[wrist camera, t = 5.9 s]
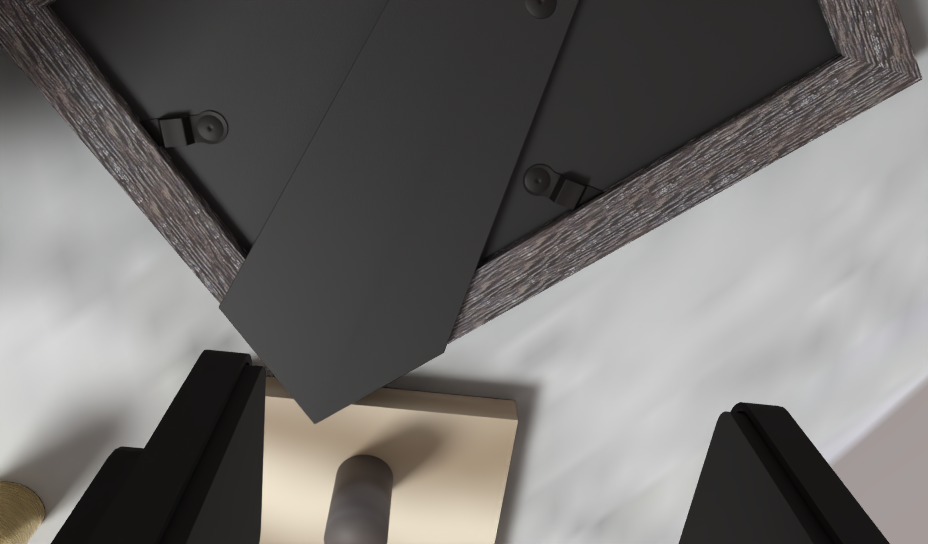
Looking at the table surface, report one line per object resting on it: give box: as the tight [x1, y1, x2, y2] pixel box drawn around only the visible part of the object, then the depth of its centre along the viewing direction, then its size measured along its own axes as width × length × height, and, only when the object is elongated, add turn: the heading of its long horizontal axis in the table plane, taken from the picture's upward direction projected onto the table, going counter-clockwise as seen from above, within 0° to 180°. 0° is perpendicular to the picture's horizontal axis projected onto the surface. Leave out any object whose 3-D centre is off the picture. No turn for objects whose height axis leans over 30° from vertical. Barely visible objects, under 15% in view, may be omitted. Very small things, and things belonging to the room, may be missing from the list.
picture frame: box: [0, 0, 922, 424], centre depth 20 cm, size 16×2×21 cm
